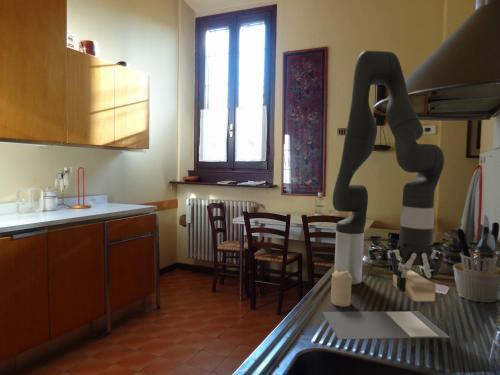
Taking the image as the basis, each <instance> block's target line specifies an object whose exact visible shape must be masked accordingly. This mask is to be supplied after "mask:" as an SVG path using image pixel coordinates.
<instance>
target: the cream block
mask: <svg viewBox="0 0 500 375" xmlns="http://www.w3.org/2000/svg"><path fill="white" fill-rule="evenodd" d="M405 278H406V285H405V292H402V293H403V294H404V295H406V296H407V297H408V298H410V299H411V300H412V301H414V302H435V301H436V292H435V290H436V285H435V284H436V283H435V282H432V281H430V279H429V280H427V279H425V278H424V277H422V275H421V274H419V273H417V272H415V271H413V270H412V269H410V270H408V272H407V274H406V277H405ZM434 283H435V284H434ZM392 285H393V286H394V287H395V288H396V289H398V288H397V275H394V274H393V273H392Z"/></svg>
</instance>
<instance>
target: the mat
mask: <svg viewBox="0 0 500 375" xmlns="http://www.w3.org/2000/svg"><path fill="white" fill-rule="evenodd" d="M321 313H322V314H323V316H324V317H325V320H326V321H327V323H328V325H329V326H330V328H331V329H332V331H333V332H334V334H335V337H336V338H337V339H338V340H357V339H359V340H360V339H361V340H365V339H366V340H367V339H369V340H370V339H372V340H373V339H379V340H381V339H382V340H383V339H450V338H451V336H449V335H448V334H447V333H445V331H444V330H442V329H440V328H439V327H438V326H437V325H436V324H435V323H434V322H432V321H431V320H430V319H428V318H427V317H426V316H425V315H424V314H422V313H421V312H420V311H418V310H417V311H416V310H412V311H411V310H410V311H409V310H408V311H406V310H405V311H404V310H401V311H395V310H394V311H390V310H389V311H388V310H387V311H322V312H321Z"/></svg>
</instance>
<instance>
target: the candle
mask: <svg viewBox="0 0 500 375" xmlns="http://www.w3.org/2000/svg"><path fill="white" fill-rule="evenodd" d="M351 283H352V276H351V275H350V274H349V272H348V271H346V270H345V269H344V270H340V269H337V270H336V271H335V272H332V274H331V286H330V287H331V288H330V289H331V291H330V293H331V294H330V302H331V303H332V305H333V306H338V307H349V306H350V305H351V300H352V284H351Z"/></svg>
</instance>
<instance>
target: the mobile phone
mask: <svg viewBox="0 0 500 375" xmlns="http://www.w3.org/2000/svg"><path fill="white" fill-rule="evenodd" d="M433 283H434V284H435V285H436V290H435V293H437V294H441V293H442V295H446V294H448V291H449V289H450V287H449V286H447V285H444V284H439V283H435V282H433Z"/></svg>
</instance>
